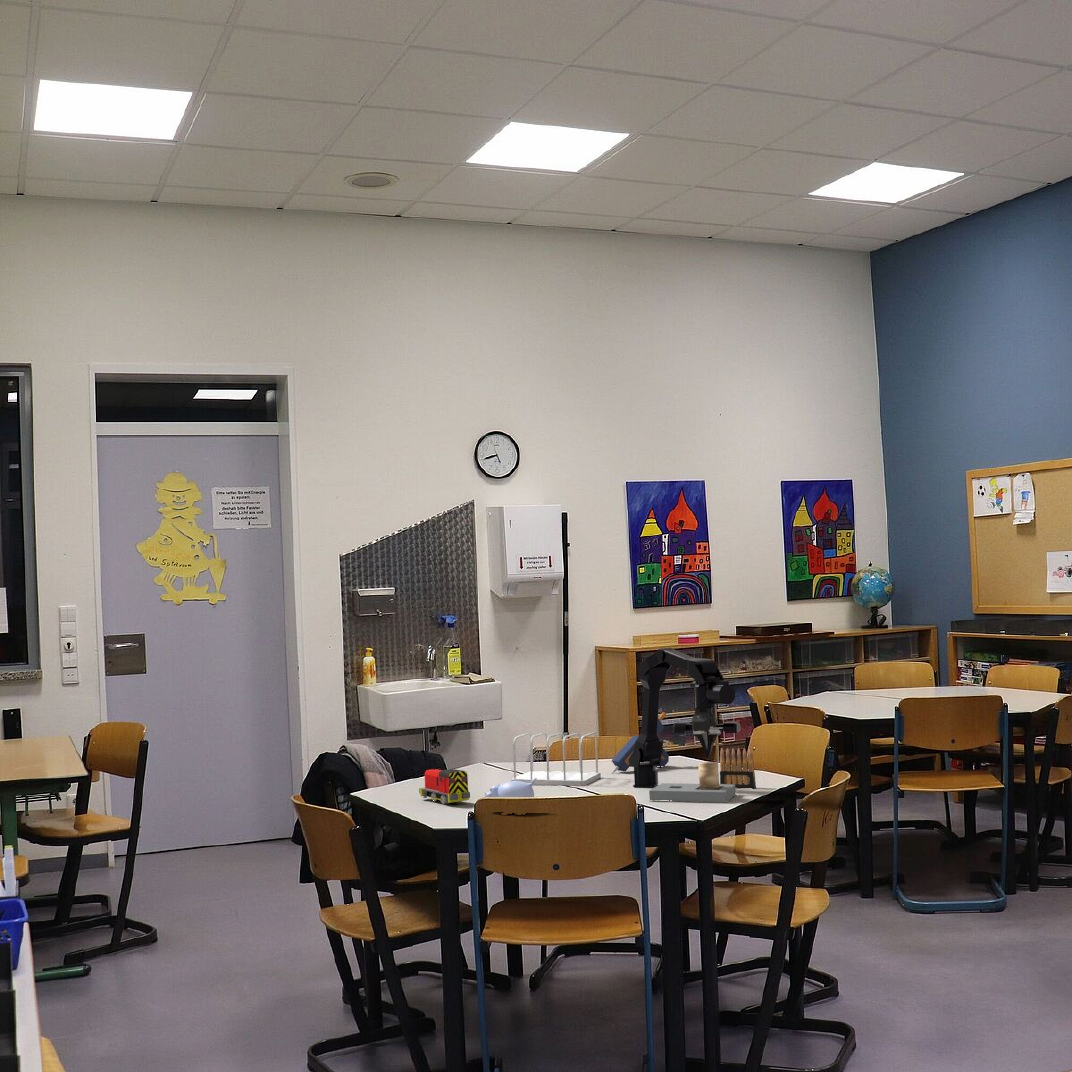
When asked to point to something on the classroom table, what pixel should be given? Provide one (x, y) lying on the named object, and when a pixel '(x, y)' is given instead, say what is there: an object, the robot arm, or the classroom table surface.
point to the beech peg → (709, 776)
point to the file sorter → (557, 776)
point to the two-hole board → (692, 793)
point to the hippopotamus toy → (512, 789)
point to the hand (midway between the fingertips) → (707, 757)
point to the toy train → (446, 785)
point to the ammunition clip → (737, 769)
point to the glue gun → (627, 750)
